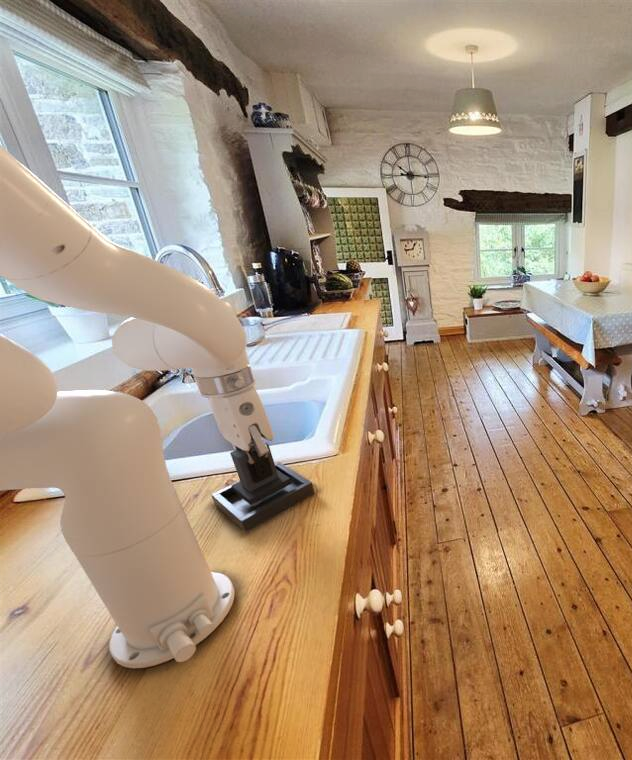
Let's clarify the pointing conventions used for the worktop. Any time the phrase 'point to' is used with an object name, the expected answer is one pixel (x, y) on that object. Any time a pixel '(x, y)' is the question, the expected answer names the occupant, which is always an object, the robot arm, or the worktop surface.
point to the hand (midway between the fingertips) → (258, 474)
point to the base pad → (263, 501)
